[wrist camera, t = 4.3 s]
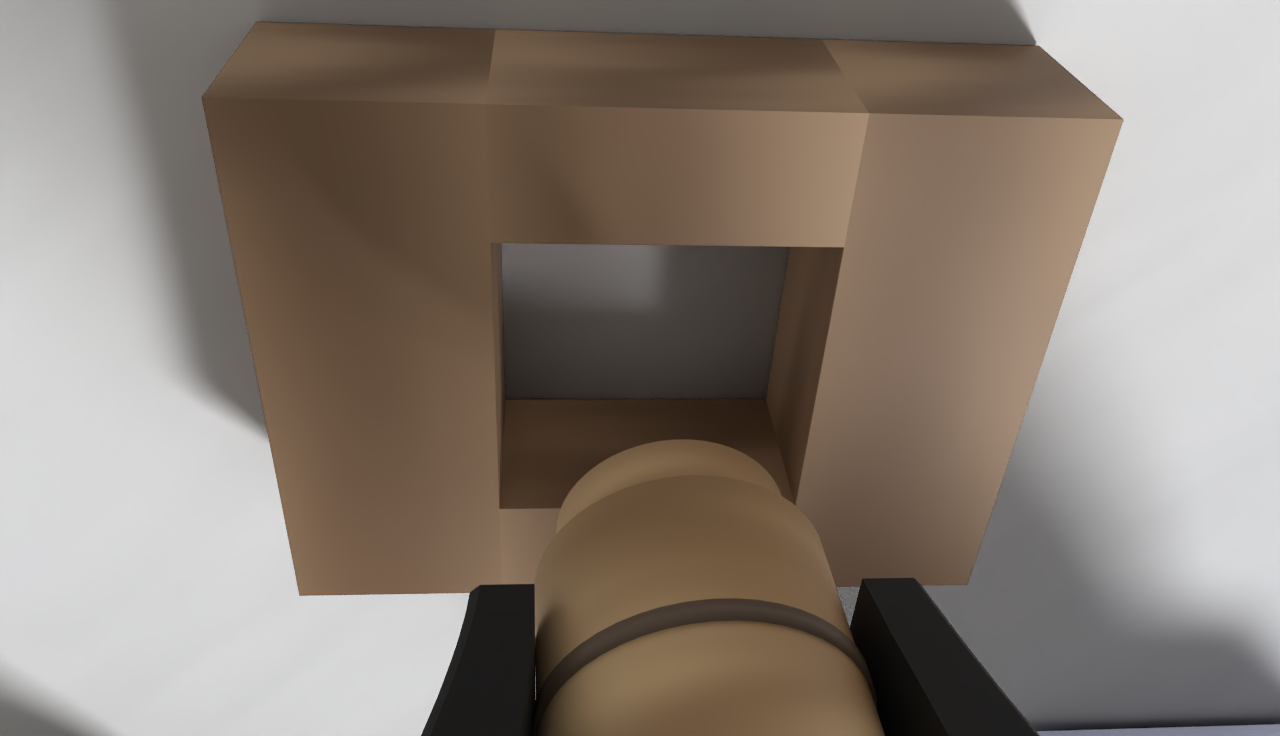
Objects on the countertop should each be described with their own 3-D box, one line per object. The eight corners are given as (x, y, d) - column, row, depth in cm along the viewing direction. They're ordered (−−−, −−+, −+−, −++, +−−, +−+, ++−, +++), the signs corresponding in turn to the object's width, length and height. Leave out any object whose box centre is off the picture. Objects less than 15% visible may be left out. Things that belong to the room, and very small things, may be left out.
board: (1038, 45, 16) (1123, 119, 14) (920, 476, 22) (967, 584, 19) (256, 22, 15) (201, 97, 13) (329, 480, 21) (299, 595, 18)
